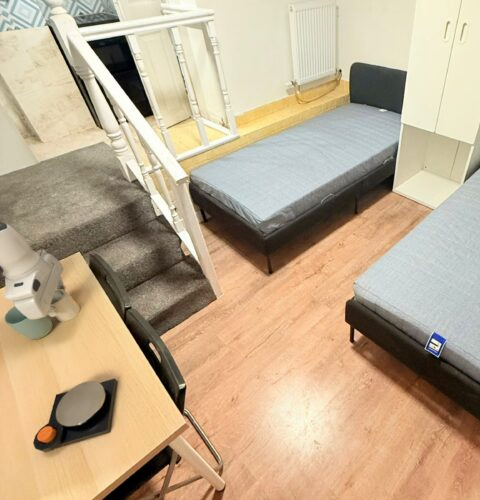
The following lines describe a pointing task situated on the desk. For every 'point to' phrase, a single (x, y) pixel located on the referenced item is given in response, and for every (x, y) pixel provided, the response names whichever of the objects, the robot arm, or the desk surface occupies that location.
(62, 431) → the scale
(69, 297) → the white cup
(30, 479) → the desk surface
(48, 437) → the tare button
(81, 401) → the scale pan
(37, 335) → the cup
